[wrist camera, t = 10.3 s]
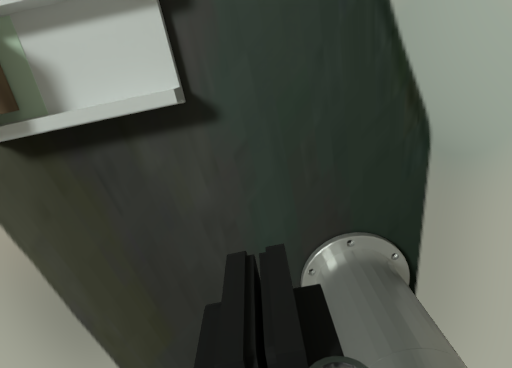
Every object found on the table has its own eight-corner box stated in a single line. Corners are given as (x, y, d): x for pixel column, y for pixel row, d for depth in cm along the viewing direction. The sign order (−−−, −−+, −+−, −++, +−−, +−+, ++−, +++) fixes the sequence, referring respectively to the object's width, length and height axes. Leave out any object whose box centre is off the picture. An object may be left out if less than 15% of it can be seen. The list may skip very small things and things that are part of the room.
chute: (149, -36, 31) (135, -49, 27) (185, 101, 35) (178, 106, 31) (-65, 14, 32) (-107, 7, 28) (-6, 142, 36) (-36, 151, 32)
